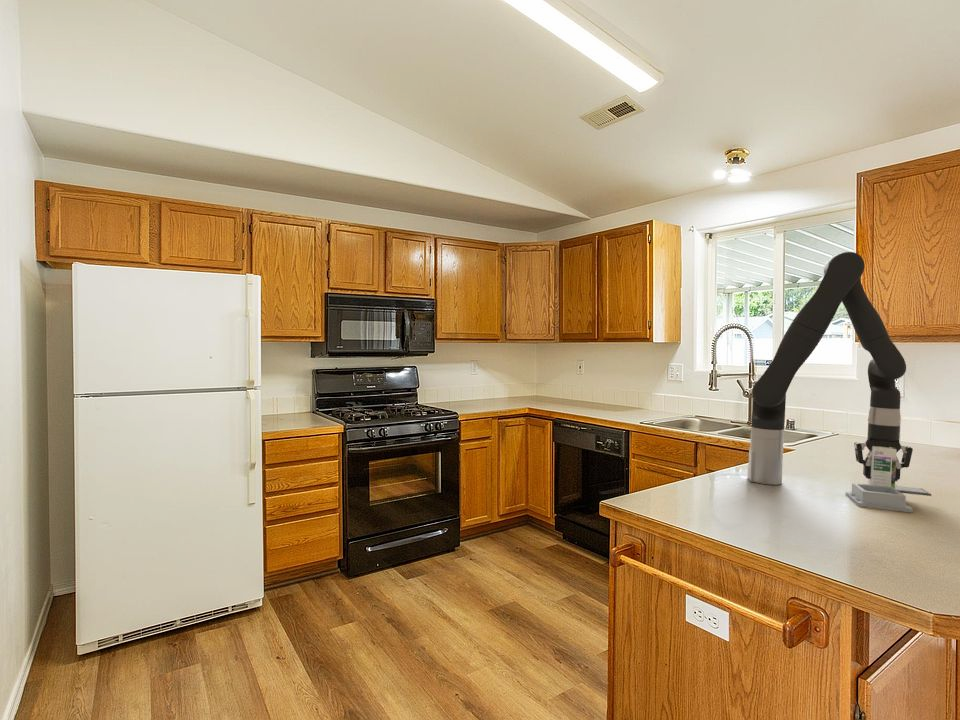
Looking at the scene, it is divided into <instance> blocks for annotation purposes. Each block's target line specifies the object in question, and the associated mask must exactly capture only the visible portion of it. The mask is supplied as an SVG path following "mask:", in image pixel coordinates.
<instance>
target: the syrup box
mask: <svg viewBox="0 0 960 720" xmlns="http://www.w3.org/2000/svg"><path fill="white" fill-rule="evenodd" d="M896 452H897V450H896V448H893V447H892V448H888V447H877V446H873V447H872V452H870V456H871V455H872V459H871V465H870V466H871V478H870V479H867V484H868V485H878V486H888V487H893V488H895V486H896V481H895V474H896V456H897V453H898V452H897V453H896Z"/></svg>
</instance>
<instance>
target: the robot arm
mask: <svg viewBox="0 0 960 720" xmlns="http://www.w3.org/2000/svg"><path fill="white" fill-rule="evenodd" d="M865 265H866V264H865V261H864V258H863V257H862V256H861V254H858V253H857V252H855V251H854V252H853V251H843V252H840V253H837V254H835V255H833V256H832V257H830V258H829V259H828V260H827V261H826V262H825V264H824V267H823V277H822V279H821V281H820V283H819V285H818V287H817V289H816V291H815V292H814V294H813V295H811V297H810V298H809V300H808V301H806V303H805V304H804V305H803V306H802V308H800V310H799V311H798V312H797V314H796V316H795V317H794V318H793V319H792V322H791V323H790V325H789V326H788V327H787V330H786V331H785V332H784V336H783V337H782V339H781V341H780V344H779V346H778V347H777V351H776V353H775V355H774V357H773V359H772V361H771V362H770V364H769V366H768V367H767V368H766V370H765V371H764V372H763V374H762V375H761V376H760V377H759V378H758V379H757V381H756V382H755V383H754V385H753V386H752V390H751V395H752V413H751V423H750V426H751V427H750V444H749V445H750V446H749V449H748V469H747V470H748V471H747V478H748V480H749V482H750V483H751V482H753V483H757V484H763V485H771V486H772V485H773V486H777V485H782V483H783V464H784V463H783V461H784V439H785V438H784V437H785V421H786V420H785V419H786V400H787V391H788V389H789V387H790V385H791V383H792V380H793V379H794V378H795V375H796V374H797V372H798V371H799V369H800V368H801V367H802V366H803V364H804V363H805V362H806V361H807V360H808V358H809V357H810V356H811V355H812V353H813V352H814V351H815V349H816V347H817V346H818V345H819V343H820V342H821V340H822V339H823V336H824V335H825V333H826V332H827V330H828V328H829V326H830V324H831V323H832V321H833V319H834V317H835V315H836V313H837V311H838V309H839V307H840V305H841V303H842V304H843V306H844V308H845V310H846V312H847V315H848V317H849V320H850V323H851V324H852V327H853V329H854V331H855V332H854V333H856V336H857V338H858V341H859V343H860V345H861V347H862V348H863V349H864V350H865V351H866V352H868V353H869V354H870V356H871V359H870V361H869V362H868V366H867V376H868V383H869V384H868V385H869V387H870V399H869V402H870V403H869V411H868V418H867V422H868V423H867V439H866V441H865V442H858V441H857V442H854V443H853V444H854V445H853V447H854V453H855V461H856V462H857V463H859V464H862V465H863V468H862V469H863V470H862V472H863V473H862V475H863V476H864V477H865V479H867V480H868V479H870V478H871V466H870V465H871V459H872V455H871V456H870V452H872V447H873V446H877V447H888V448H892V447H893V448H896V450H897V452H896V454H897V453H898V452H899V451H901V453H902V456H901V461H899V458H898V456H897V455H896V474H895V482H898V481H899V480H900V479H901V470H902V469H903V468H906V469H907V468H909V467H910V464H911V460H912V455H913V447H911V446H908V445H901V443H900V441H901V440H900V439H901V438H900V437H901V421H902V420H901V419H902V418H901V417H902V415H901V391H900V390H899V389H898V388H897V387H896V380H898V379H901V378H902V377H903V376H904V375H905V374H906V371H907V363H906V361H905V358H904V356H903V355H902V353H901V352H900V350H899V349H898V348H897V346H896V345H895V344H894V343H893V341H892V340H891V338H890V335H889V333H888V330H887V328H886V325H885V324H884V321H883V319H882V318H881V315H880V314H879V313H878V311H877V309H876V308H875V307H874V305H873V304H872V302H871V301H870V299H869V297H868V295H867V294H866V292H865V289H864V287H863V284H862V281H861V277H863V276H862V275H863V274H864V272H865V268H866V267H865ZM865 448H867V449H868V453H867V454H866V457H865V459H864V455H863V451H864V450H865Z"/></svg>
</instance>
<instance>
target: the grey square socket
mask: <svg viewBox="0 0 960 720" xmlns="http://www.w3.org/2000/svg"><path fill="white" fill-rule="evenodd" d="M845 496H846V497H847V498H848V499H849V500H851V502H852V503H854V504H855V505H856V506H857V507H860V508H869V509H878V510H888V511H896V512H906V513H913V508H912V507H911V506H909V505H908V504H906V501H907V500H906V497H907V496H906V494H905V493H902V492H899V491H898V490H896V489H895V488H893V487H888V486H878V485H868V483H866V484H865V483H856V482H852V483H851V491H845Z"/></svg>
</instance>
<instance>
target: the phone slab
mask: <svg viewBox="0 0 960 720" xmlns="http://www.w3.org/2000/svg"><path fill="white" fill-rule="evenodd" d="M895 489H896V490H898V491H899V492H901V493H902V494H913V495H914V494H915V495H922V496H932V493H931V492H929V491H927V490H925V489H923V488H921V487H912V486H903V485H902V486H901V485H895Z"/></svg>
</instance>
